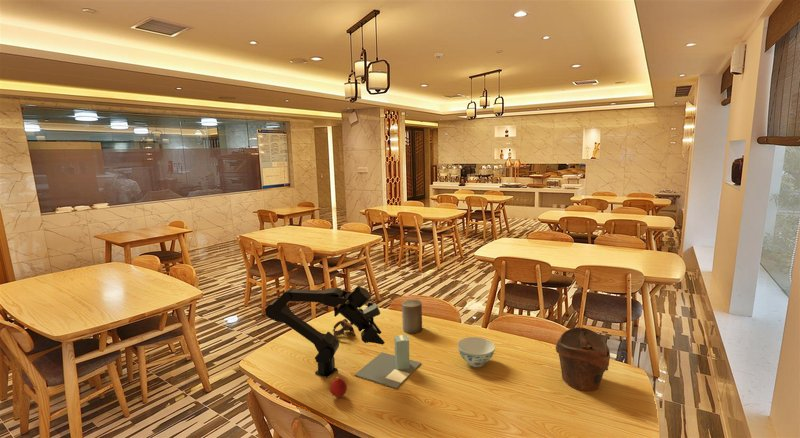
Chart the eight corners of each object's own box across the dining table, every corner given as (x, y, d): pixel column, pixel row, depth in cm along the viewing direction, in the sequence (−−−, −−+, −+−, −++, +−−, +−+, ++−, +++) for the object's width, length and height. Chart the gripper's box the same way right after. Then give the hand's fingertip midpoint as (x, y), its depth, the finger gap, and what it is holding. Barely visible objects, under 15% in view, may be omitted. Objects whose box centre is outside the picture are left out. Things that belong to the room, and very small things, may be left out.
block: (409, 368, 158) (409, 339, 156) (397, 370, 157) (396, 341, 155) (407, 362, 163) (406, 334, 161) (395, 363, 162) (394, 335, 160)
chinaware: (495, 374, 154) (495, 355, 152) (456, 371, 157) (456, 352, 155) (494, 355, 168) (494, 338, 167) (458, 352, 171) (458, 335, 170)
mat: (396, 388, 145) (396, 387, 145) (354, 375, 155) (354, 374, 155) (421, 363, 162) (421, 362, 162) (381, 353, 172) (381, 351, 172)
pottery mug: (356, 339, 186) (347, 327, 183) (339, 348, 187) (330, 336, 184) (356, 323, 197) (347, 311, 194) (339, 331, 198) (330, 319, 195)
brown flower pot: (579, 402, 135) (582, 352, 133) (543, 372, 154) (545, 328, 152) (622, 393, 140) (626, 345, 137) (582, 365, 159) (585, 323, 156)
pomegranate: (339, 390, 145) (338, 370, 144) (350, 396, 141) (349, 375, 140) (327, 398, 141) (326, 377, 139) (338, 404, 137) (337, 383, 136)
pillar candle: (425, 327, 196) (425, 298, 194) (416, 335, 188) (415, 305, 186) (408, 324, 201) (408, 295, 199) (398, 331, 193) (397, 301, 191)
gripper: (369, 307, 144) (400, 333, 148) (365, 290, 162) (392, 314, 166) (348, 330, 144) (380, 355, 148) (346, 310, 162) (374, 333, 166)
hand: (382, 338), depth 157 cm, fingers open, 9 cm apart
